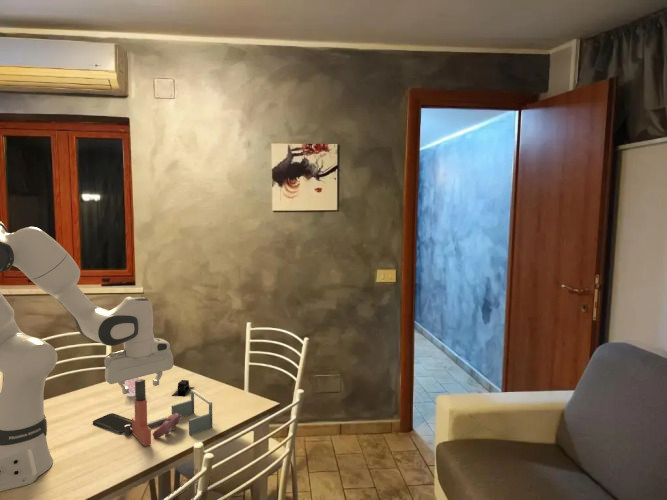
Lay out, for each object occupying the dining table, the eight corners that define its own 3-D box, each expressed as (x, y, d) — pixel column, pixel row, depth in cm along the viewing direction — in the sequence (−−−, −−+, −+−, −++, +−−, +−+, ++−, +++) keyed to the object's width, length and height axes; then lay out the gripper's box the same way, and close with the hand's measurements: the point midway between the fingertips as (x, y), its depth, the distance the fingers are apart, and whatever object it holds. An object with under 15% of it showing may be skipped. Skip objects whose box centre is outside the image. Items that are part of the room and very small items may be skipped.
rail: (125, 435, 149) (125, 426, 149) (124, 434, 150) (124, 425, 150) (167, 422, 159) (167, 414, 158) (166, 421, 159) (166, 413, 159)
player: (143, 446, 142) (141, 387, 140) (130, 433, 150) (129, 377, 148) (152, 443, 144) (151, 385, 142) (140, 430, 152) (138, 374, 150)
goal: (190, 435, 150) (189, 409, 149) (171, 419, 161) (171, 394, 160) (212, 427, 156) (212, 402, 155) (193, 412, 166) (192, 388, 165)
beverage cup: (120, 394, 181) (119, 359, 179) (135, 389, 186) (134, 355, 184) (129, 398, 177) (128, 363, 176) (143, 393, 182) (143, 359, 181)
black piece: (184, 399, 178) (184, 388, 178) (167, 398, 179) (167, 387, 179) (198, 387, 190) (198, 376, 190) (181, 385, 191) (181, 375, 191)
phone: (111, 412, 163) (140, 422, 156) (111, 415, 164) (140, 426, 156) (90, 421, 157) (119, 432, 149) (91, 424, 157) (119, 436, 150)
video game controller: (162, 444, 147) (170, 426, 146) (150, 436, 148) (159, 419, 147) (178, 429, 157) (186, 413, 156) (167, 422, 158) (175, 406, 156)
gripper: (107, 357, 134) (109, 402, 136) (174, 342, 148) (176, 383, 150) (100, 351, 139) (103, 395, 141) (166, 338, 153) (168, 377, 154)
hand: (141, 389), depth 145 cm, fingers open, 8 cm apart
